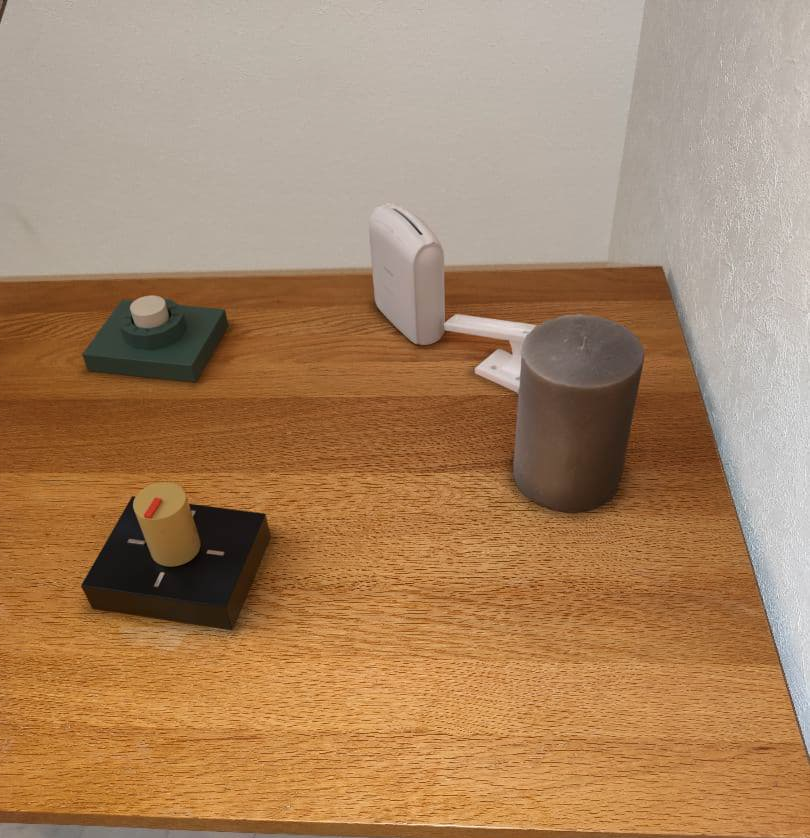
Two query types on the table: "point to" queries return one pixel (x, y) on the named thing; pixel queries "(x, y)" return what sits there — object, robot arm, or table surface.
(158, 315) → the bell button
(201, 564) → the plate
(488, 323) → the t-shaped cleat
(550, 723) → the table surface
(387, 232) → the photo printer
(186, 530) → the lock knob
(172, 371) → the block
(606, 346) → the pillar candle
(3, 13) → the robot arm
